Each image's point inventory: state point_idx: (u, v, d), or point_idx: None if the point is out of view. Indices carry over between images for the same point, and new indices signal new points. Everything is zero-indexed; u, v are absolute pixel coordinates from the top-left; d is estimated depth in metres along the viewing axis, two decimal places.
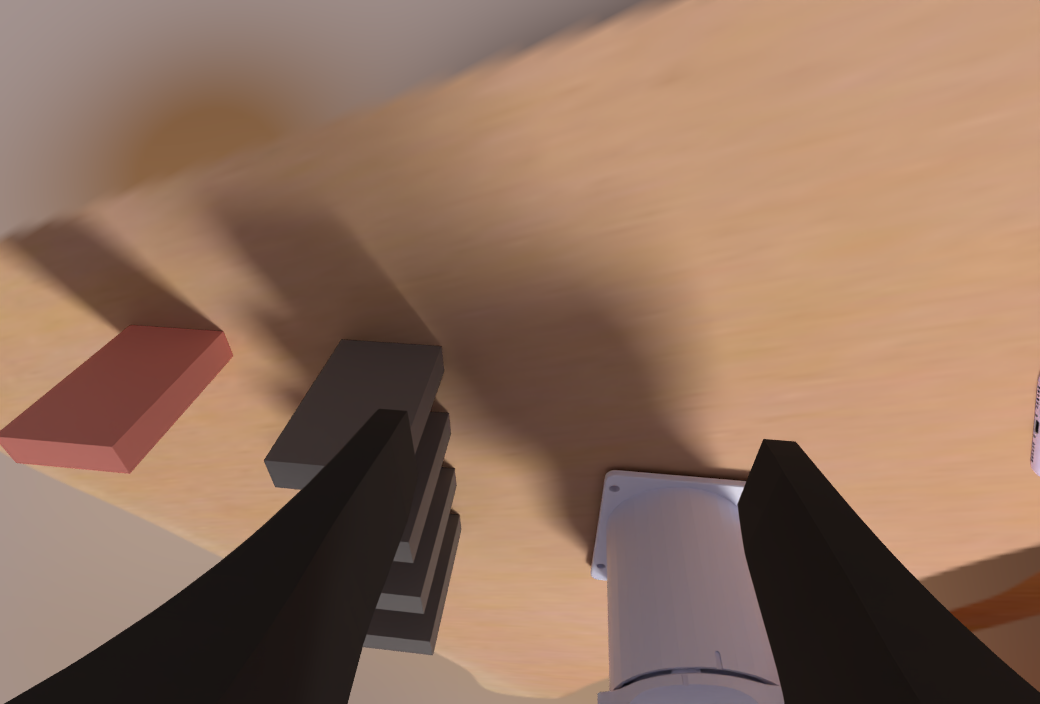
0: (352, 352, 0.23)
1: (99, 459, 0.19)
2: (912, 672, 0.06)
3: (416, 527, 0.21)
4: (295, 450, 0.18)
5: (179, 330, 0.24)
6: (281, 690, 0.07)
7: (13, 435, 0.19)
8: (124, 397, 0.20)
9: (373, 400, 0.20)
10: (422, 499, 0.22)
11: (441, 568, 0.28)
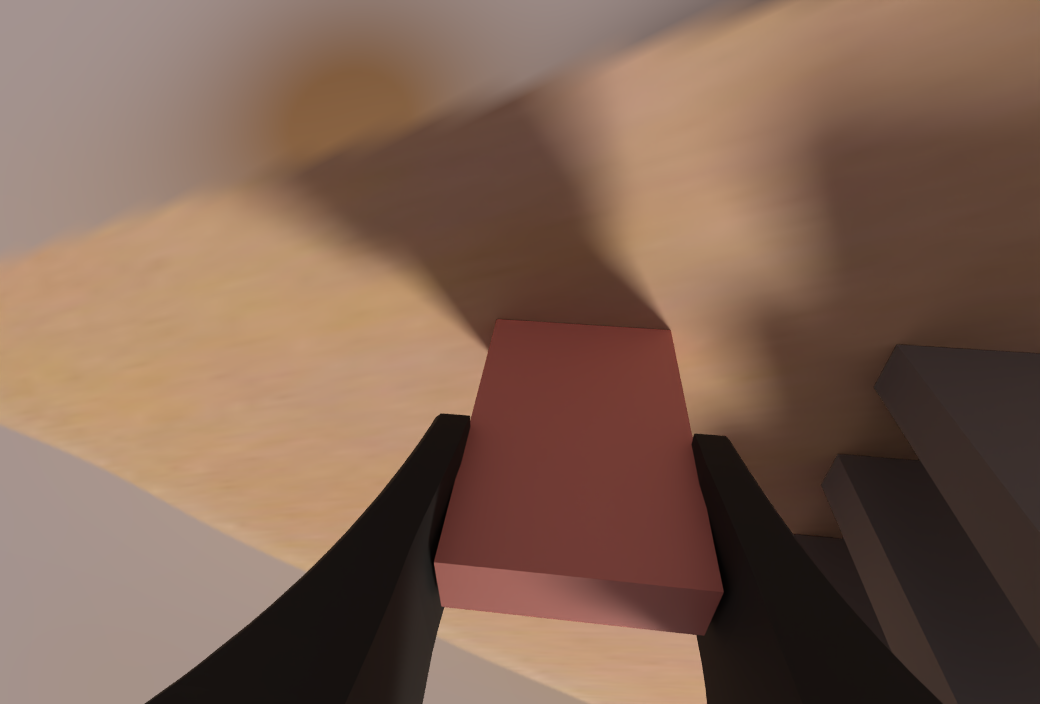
0: (950, 368, 0.12)
1: (659, 610, 0.09)
2: (798, 658, 0.06)
3: None
4: None
5: (593, 329, 0.14)
6: (379, 702, 0.07)
7: (476, 560, 0.09)
8: (626, 463, 0.10)
9: None
10: None
11: None
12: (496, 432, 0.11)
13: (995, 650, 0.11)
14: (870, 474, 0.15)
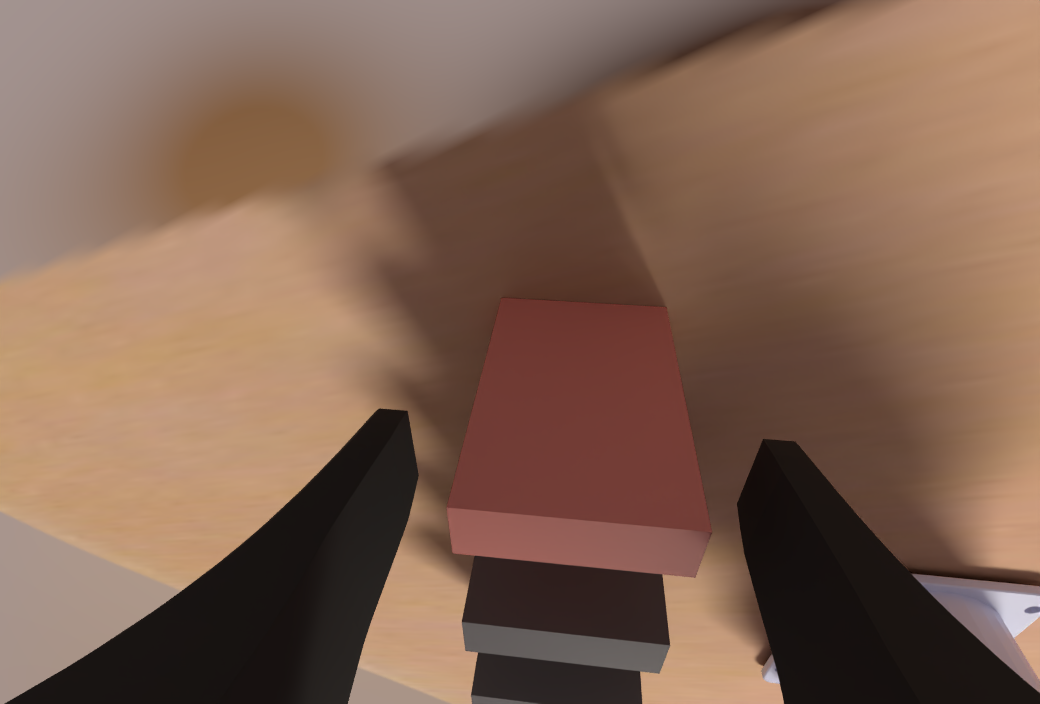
0: None
1: (653, 552, 0.09)
2: (912, 671, 0.06)
3: None
4: (504, 602, 0.12)
5: (593, 306, 0.14)
6: (280, 690, 0.07)
7: (484, 506, 0.09)
8: (624, 423, 0.11)
9: None
10: None
11: None
12: (502, 397, 0.12)
13: None
14: None
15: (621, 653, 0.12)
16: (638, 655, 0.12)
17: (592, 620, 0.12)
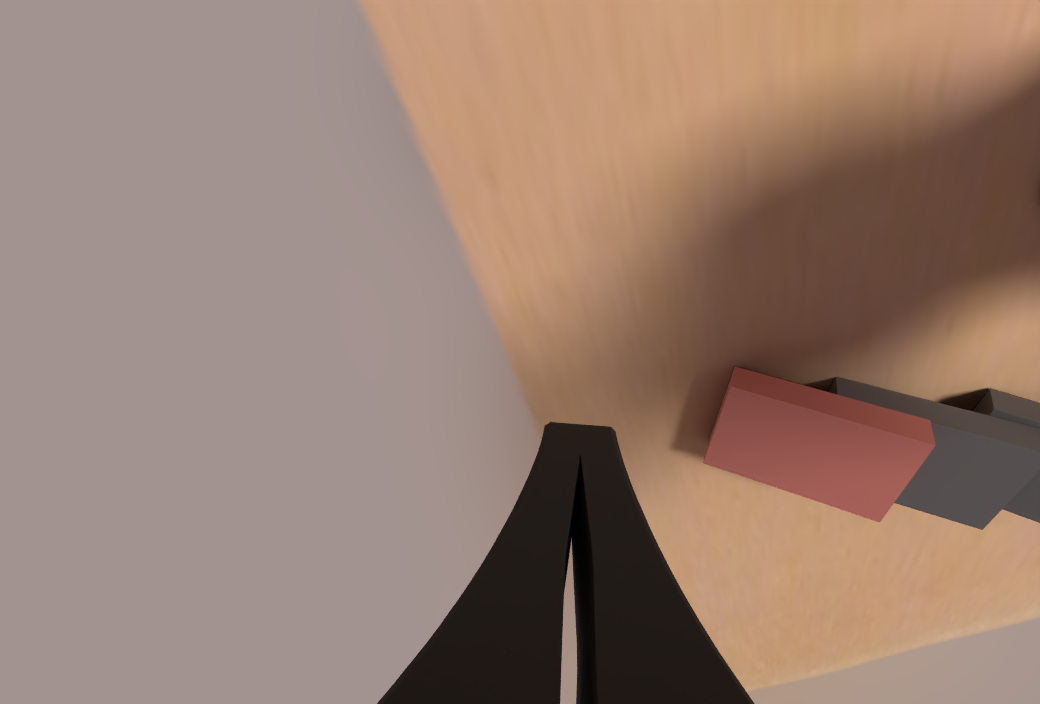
0: None
1: None
2: (611, 638, 0.07)
3: None
4: (978, 512, 0.21)
5: (722, 423, 0.22)
6: None
7: (884, 511, 0.21)
8: (845, 448, 0.20)
9: None
10: None
11: None
12: (806, 487, 0.22)
13: None
14: None
15: None
16: None
17: (1014, 481, 0.20)
